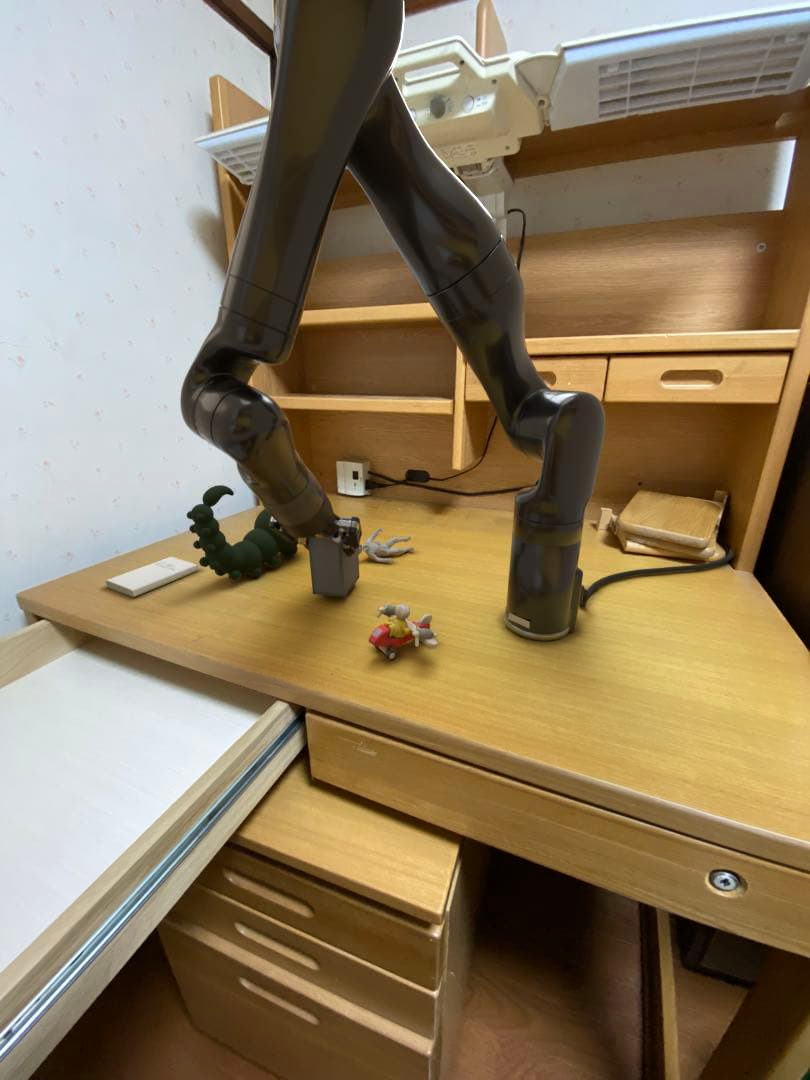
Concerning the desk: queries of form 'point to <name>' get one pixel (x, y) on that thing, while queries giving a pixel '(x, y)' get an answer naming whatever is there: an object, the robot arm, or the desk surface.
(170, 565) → the hard drive
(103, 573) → the desk surface
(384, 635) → the toy airplane
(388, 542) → the soldier figure
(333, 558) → the dark grey rectangular box
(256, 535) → the toy figurine
